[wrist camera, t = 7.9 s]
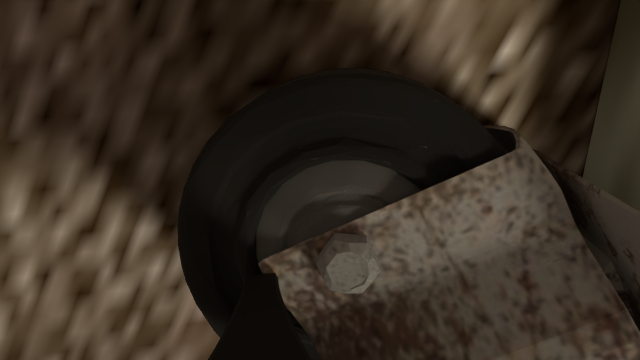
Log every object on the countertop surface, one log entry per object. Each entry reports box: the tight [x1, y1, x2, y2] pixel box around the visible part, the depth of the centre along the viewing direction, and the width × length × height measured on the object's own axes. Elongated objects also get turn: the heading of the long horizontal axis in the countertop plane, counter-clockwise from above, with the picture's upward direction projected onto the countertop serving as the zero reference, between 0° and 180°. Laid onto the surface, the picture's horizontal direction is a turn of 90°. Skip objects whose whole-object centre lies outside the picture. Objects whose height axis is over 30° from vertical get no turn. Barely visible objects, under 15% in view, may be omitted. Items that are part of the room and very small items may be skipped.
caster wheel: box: [178, 68, 640, 360], centre depth 12 cm, size 7×11×10 cm
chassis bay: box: [582, 0, 640, 212], centre depth 13 cm, size 20×18×3 cm
